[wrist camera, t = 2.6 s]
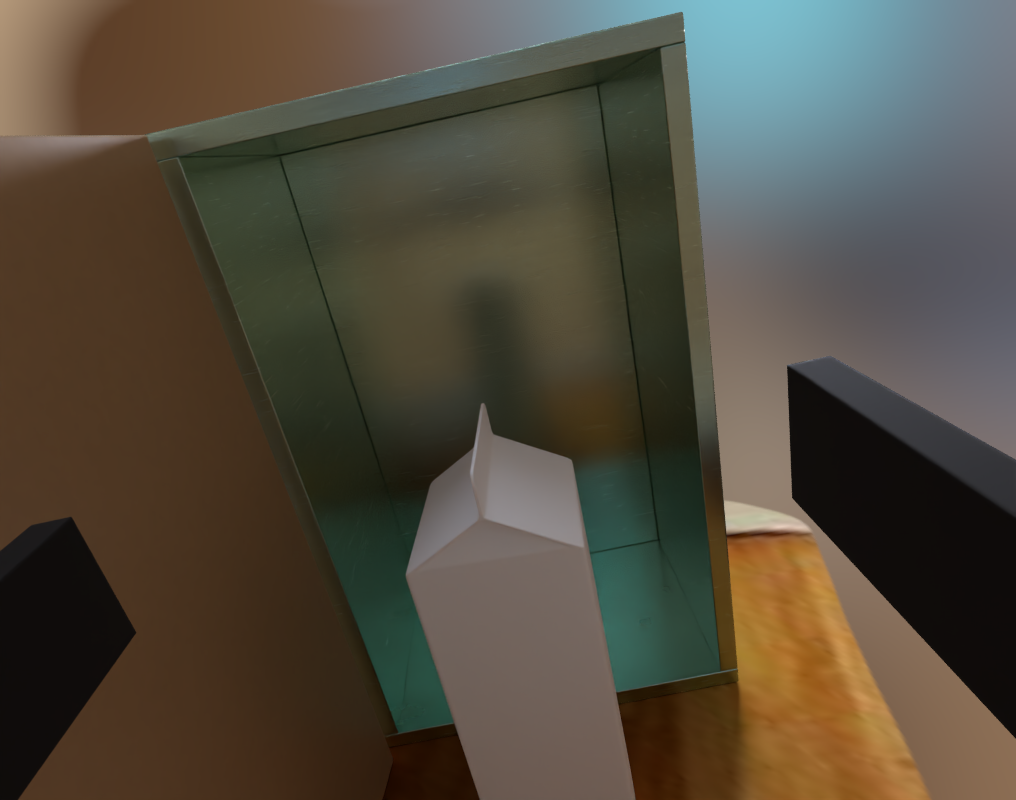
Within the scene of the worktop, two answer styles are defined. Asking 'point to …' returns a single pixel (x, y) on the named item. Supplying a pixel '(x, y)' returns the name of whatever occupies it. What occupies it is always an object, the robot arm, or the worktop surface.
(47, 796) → the fridge door
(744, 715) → the worktop surface
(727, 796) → the worktop surface
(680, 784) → the worktop surface
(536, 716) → the milk
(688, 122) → the fridge
